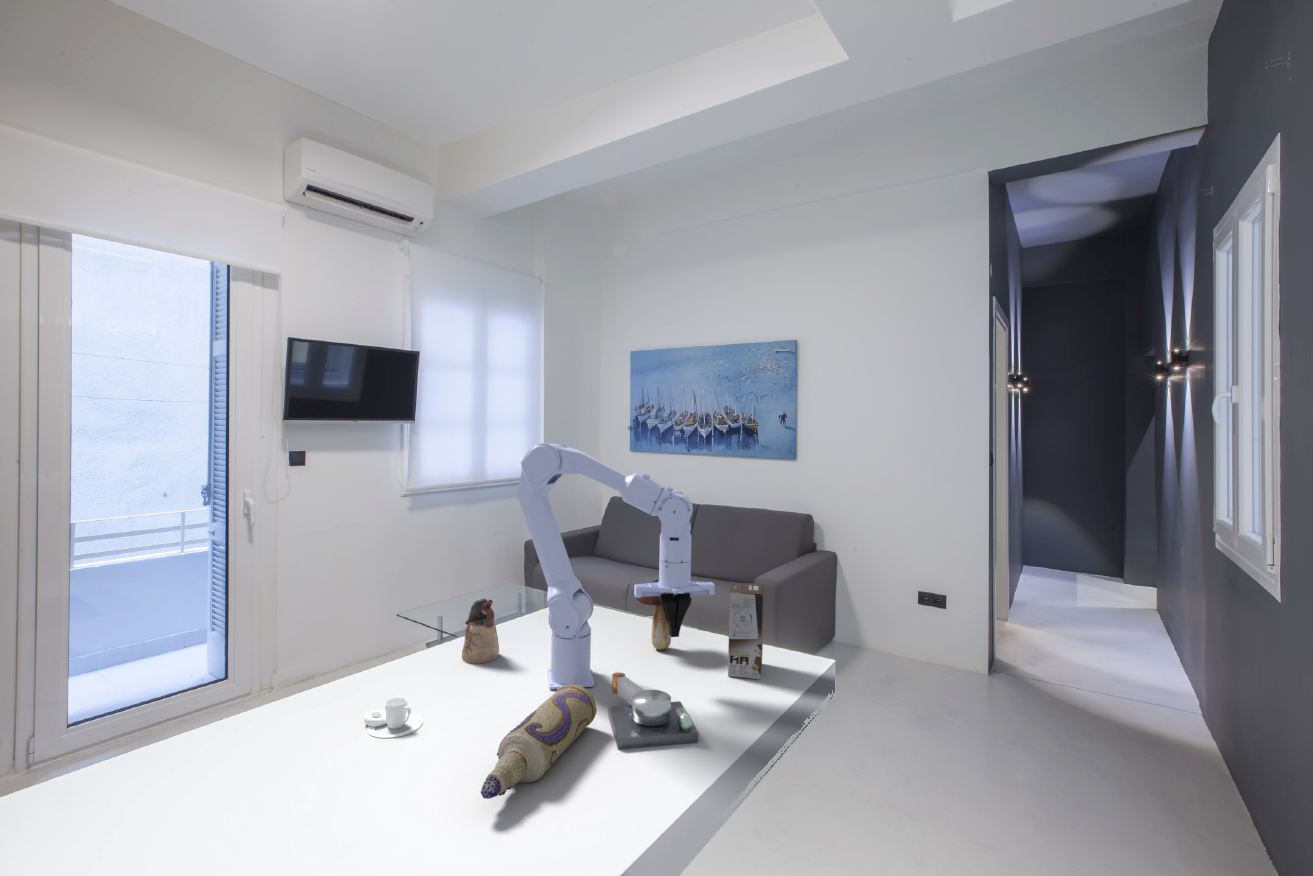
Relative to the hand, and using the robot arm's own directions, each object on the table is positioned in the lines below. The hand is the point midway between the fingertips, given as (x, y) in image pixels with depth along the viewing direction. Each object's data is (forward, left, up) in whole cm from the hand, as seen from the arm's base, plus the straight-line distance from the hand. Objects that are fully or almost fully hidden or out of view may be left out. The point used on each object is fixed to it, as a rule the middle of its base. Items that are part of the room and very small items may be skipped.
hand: (673, 635), depth 113 cm
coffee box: (-6, +16, -10) cm, 20 cm away
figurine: (-21, -35, -10) cm, 42 cm away
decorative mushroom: (-20, +2, -10) cm, 22 cm away
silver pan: (+11, -9, -8) cm, 16 cm away
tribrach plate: (+15, -7, -9) cm, 19 cm away
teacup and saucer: (+4, -46, -10) cm, 47 cm away
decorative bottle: (+22, -25, -10) cm, 34 cm away
